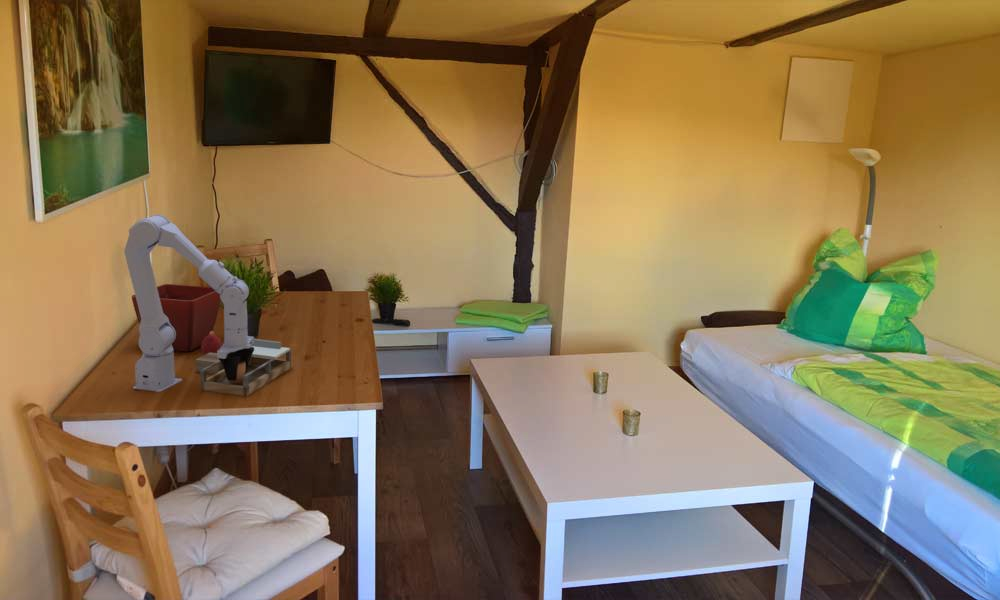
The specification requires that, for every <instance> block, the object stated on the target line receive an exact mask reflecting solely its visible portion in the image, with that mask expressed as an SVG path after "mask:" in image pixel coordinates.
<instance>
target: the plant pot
mask: <svg viewBox="0 0 1000 600" xmlns="http://www.w3.org/2000/svg"><path fill="white" fill-rule="evenodd" d="M157 290H158V294H159V298H160V302H161V306H162V310H163V313H164V314H165V315H166V316H167V317H168V319H169V322H170V324H171V326H172V327H173V328H174V329H175V332H176V338H175V340H174V342H173V343H172V347H173V351H180V352H191V351H193V350H195V349H198V348H199V347H201V344H202V341H203V339H204V338H205V337H206V336H208V335H209V333H210V332H212V331H213V332H214V328H215V325H216V321H217V317H218V313H219V309H220V304H221V298H220V295H221V294H219V293H217V292H216V291H215V290H214V289H213V288H212V287H211V286H200V285H186V284H172V283H165V284H161V285H159V286H157ZM131 300H132V304H133V308H134V311H135V315H136V318H137V321H138V324H139V325H140V322H141V316H140V312H139V308H138V304H137V300H136V296H135V294H131Z"/></svg>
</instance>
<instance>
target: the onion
mask: <svg viewBox="0 0 1000 600" xmlns="http://www.w3.org/2000/svg"><path fill="white" fill-rule="evenodd" d="M222 346H223V342H222V339H221V338H220V337H219V336H218V335H216V334H215V332H214V330H213V331H212V332H210V333H209V335H208V336H206V337H205V338H204V339H203V341H202V344H201V346H200V349H201V351H202V353H203V354H204V355H206V354H208V353H217V351H218V350H219V349H220V348H221V347H222Z"/></svg>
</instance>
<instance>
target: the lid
mask: <svg viewBox="0 0 1000 600" xmlns="http://www.w3.org/2000/svg"><path fill="white" fill-rule="evenodd" d="M251 345H252V347H254V352H253V353H252V355H251V356H256V357H264V358H272V359H276V358H277V359H279V358H280V357H282V356H283V354H284V353H285V354H286V352H288V351H291V348H290V347H286V346H285V347H282V342H281V341H276V340H275V341H274V340H267V339H258V338H254V344H251ZM285 354H284V355H285ZM281 355H282V356H281ZM279 356H280V357H279ZM278 357H279V358H278Z"/></svg>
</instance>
